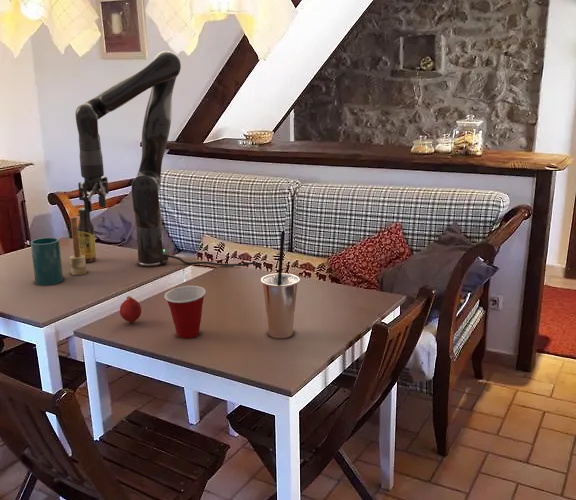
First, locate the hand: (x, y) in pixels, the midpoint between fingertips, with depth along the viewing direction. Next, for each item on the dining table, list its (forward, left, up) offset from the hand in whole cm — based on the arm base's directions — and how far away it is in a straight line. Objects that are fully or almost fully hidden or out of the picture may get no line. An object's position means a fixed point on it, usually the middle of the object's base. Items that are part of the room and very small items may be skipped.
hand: (95, 209), depth 223 cm
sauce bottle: (+7, -10, -22) cm, 25 cm away
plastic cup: (-34, +64, -22) cm, 76 cm away
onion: (-18, +54, -22) cm, 61 cm away
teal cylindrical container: (+15, +13, -22) cm, 29 cm away
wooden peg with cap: (+7, +5, -22) cm, 23 cm away
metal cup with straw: (-59, +67, -22) cm, 92 cm away
